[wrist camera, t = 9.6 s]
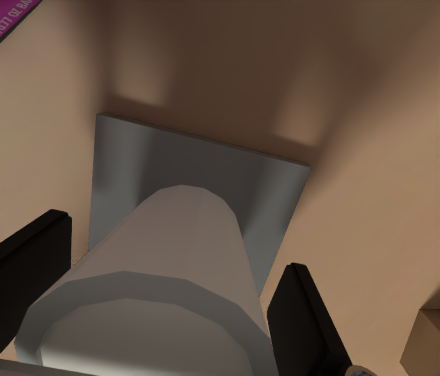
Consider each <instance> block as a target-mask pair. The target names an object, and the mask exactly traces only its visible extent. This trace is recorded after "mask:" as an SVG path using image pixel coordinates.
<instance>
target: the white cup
mask: <svg viewBox="0 0 440 376" xmlns="http://www.w3.org/2000/svg"><path fill="white" fill-rule="evenodd" d="M14 344H15V349H16V353H17V358H18V362H22V363H28V364H34V365H40V366H46V367H51V368H57V369H63V370H69V371H75V372H81V373H87V374H92V375H98V376H279V374H278V369H277V365H276V361H275V357H274V353H273V348H272V344H271V340H270V336H269V333H268V329H267V326H266V322H265V318H264V315H263V311H262V308H261V304H260V300H259V297H258V293H257V290H256V286H255V283H254V279H253V275H252V272H251V268H250V265H249V261H248V258H247V254H246V250H245V247H244V243H243V240H242V236H241V232H240V229H239V225H238V222H237V218H236V215H235V214H234V212H233V211H232V210H231V208H230V207H229V206H228V205H227V203H226V202H225V201H224V200H223V199H222V198H221V197H219V196H217V195H215V194H213V193H212V192H210V191H208V190H206V189H205V188H201V187H194V186H188V185H177V186H172V187H168V188H163V189H160V190H158V191H157V192H155V193H154V194H153V195H151V196H150V197H148V198H147V199H146V200H144V201H143V202H142V203H141V204H140V205H139V206H138V207H137V208H135V209H134V210H133V211H132V212H131V213H130V214H129V215H128V216H127V217H126V218H125V219H124V220H123V221H121V222H120V223H119V224H118V225H117V226H116V227H115V228H114V229H113V230H112V231H111V232H110V233H108V234H107V235H106V236H105V237H104V238H103V239H102V240H101V241H100V242H99V243H98V244H97V245H96V246H94V247H93V248H92V249H91V250H90V251H89V252H88V253H87V254H86V255H85V256H84V257H83V258H82V259H80V260H79V261H78V262H77V263H76V264H75V265H74V266H73V267H72V268H71V269H70V270H69V271H68V272H66V273H65V274H64V275H63V276H62V277H61V278H60V279H59V280H58V281H57V282H56V283H55V284H53V285H52V286H51V287H50V288H49V289H48V290H47V291H46V292H45V293H44V294H43V295H42V296H41V297H39V298H38V299H37V300H36V301H35V302H34V303H33V304H32V305H31V306H30V307H29V308H28V310H27V312H26V314H25V317H24V319H23V322H22V324H21V326H20V329H19V331H18V333H17V336H16V338H15V341H14Z"/></svg>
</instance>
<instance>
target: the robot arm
mask: <svg viewBox="0 0 440 376" xmlns="http://www.w3.org/2000/svg"><path fill="white" fill-rule="evenodd" d="M71 237H72V218H71V217H70V216H69V215H68V213H67V212H64V211H59V210H55V209H51V210H49V211H47V212H46V213H44V214H43V215H41V216H40V217H38V218H37V219H35V220H34V221H32V222H31V223H29V224H28V225H26V226H25V227H23V228H22V229H20V230H19V231H17V232H16V233H14V234H13V235H11V236H10V237H8V238H7V239H5V240H4V241H2V242H1V243H0V353H1V352H2V351H3V350H4V349H5V348H6V347H7V346H8V344H9V343H10V342H11V341H12V340H13V339H14V337H15V336H16V335H17V333H18V331H19V329H20V326H21V324H22V322H23V319H24V317H25V314H26V312H27V310H28V308H29V307H30V306H31V305H32V304H33V303H34V302H35V301H36V300H37V299H38V298H39V297H41V296H42V295H43V294H44V293H45V292H46V291H47V290H48V289H49V288H50V287H51V286H52V285H53V284H55V283H56V282H57V281H58V280H59V279H60V278H61V277H62V276H63V275H64V274H65V273H66V272H68V271H69V270H70V269H71ZM267 320H268V325H269V331H270V336H271V341H272V347H273V352H274V357H275V361H276V365H277V369H278V374H279V376H377V375H376V374H375V373H373V372H372V371H370V370H369V369H367V368H364V367H362V366H358V365H353V364H352V362H351V360H350V358H349V356H348V353H347V351H346V349H345V347H344V345H343V343H342V341H341V338H340V336H339V334H338V332H337V330H336V328H335V326H334V324H333V321H332V319H331V317H330V315H329V313H328V311H327V309H326V306H325V305H324V302H323V300H322V298H321V296H320V294H319V292H318V290H317V287H316V285H315V283H314V281H313V279H312V277H311V275H310V272H309V270H308V268H307V266H306V265H303V264H298V263H294V262H293V263H291V264H290V265H287V266H286V268H285V270H284V272H283V275H282V277H281V279H280V281H279V284H278V286H277V288H276V291H275V293H274V295H273V298H272V300H271V302H270V305H269V307H268V310H267ZM0 376H98V375H92V374H87V373H81V372H75V371H69V370H63V369H57V368H51V367H46V366H40V365H34V364H28V363H22V362H16V361H11V360H4V359H0Z"/></svg>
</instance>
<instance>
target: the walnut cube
mask: <svg viewBox="0 0 440 376" xmlns="http://www.w3.org/2000/svg"><path fill="white" fill-rule="evenodd" d="M400 363H401V365H402V366H403V368H404V369H405V371H406V372H407V374H408V375H409V376H440V309H419V312H418V314H417V317H416V320H415V322H414V325H413V328H412V330H411V333H410V336H409V338H408V341H407V344H406V346H405V349H404V352H403V354H402V357H401V360H400Z"/></svg>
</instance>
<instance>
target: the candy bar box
mask: <svg viewBox="0 0 440 376" xmlns="http://www.w3.org/2000/svg"><path fill="white" fill-rule="evenodd" d="M41 1H42V0H0V43H1V42H2V41H3V40H4V39H5V38H6V37H7V36H8V35H9V34H10V33H11V32H12V31H13V30H14V29H15V28H16V27H17V26H18V25H19V24H20V23H21V22H22V21H23V20H24V19H25V18H26V17H27V16H28V15H29V14H30V13H31V12H32V11H33V10H34V9H35V8H36V7H37V6H38V4H39V3H40V2H41Z"/></svg>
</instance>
